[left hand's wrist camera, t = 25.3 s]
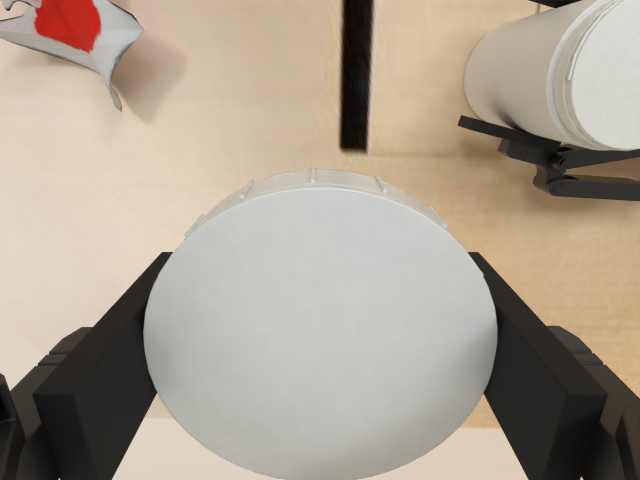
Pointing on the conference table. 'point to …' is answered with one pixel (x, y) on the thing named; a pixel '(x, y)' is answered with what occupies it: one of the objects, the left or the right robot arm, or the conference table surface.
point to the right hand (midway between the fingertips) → (489, 56)
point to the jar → (563, 75)
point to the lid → (320, 328)
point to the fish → (75, 33)
